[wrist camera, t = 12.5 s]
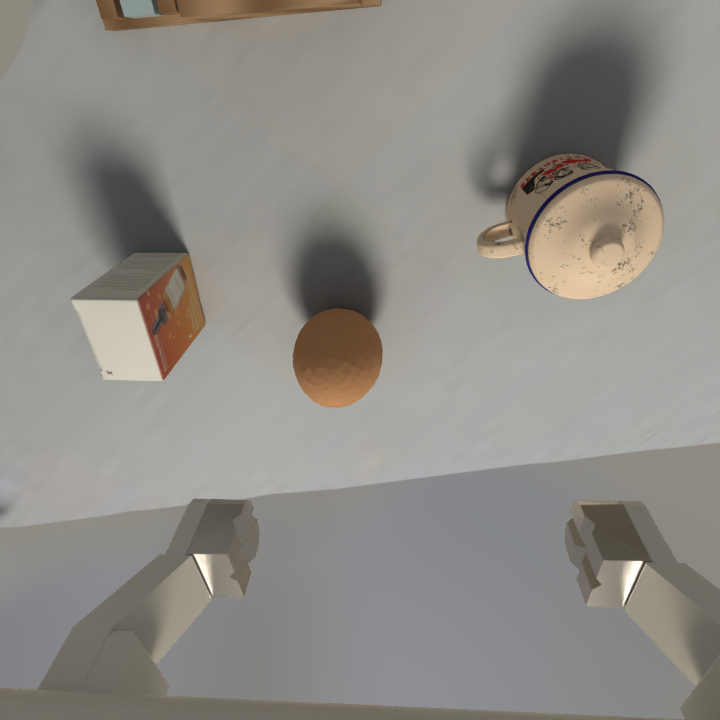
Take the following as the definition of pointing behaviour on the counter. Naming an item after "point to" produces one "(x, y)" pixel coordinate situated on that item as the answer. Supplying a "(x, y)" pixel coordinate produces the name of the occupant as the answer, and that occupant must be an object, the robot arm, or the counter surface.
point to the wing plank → (140, 8)
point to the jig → (218, 11)
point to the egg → (337, 357)
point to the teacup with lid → (579, 226)
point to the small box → (141, 315)
